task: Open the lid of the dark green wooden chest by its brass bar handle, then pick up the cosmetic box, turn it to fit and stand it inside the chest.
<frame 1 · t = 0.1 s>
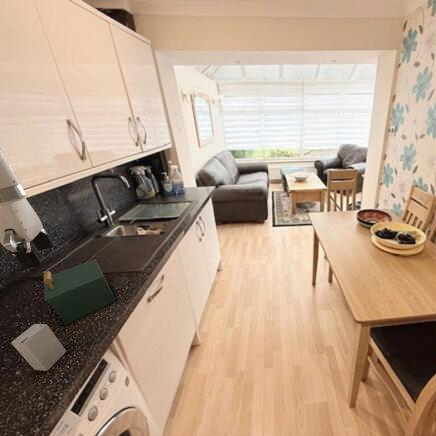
hand: (40, 257, 62), 31 cm above the countertop, tool pointing down, fingers open, 9 cm apart
lid: (70, 273, 85), point 14 cm above the countertop, hinge at 0.0°
cosmetic box: (51, 361, 69), on the countertop
chest: (88, 300, 91), on the countertop
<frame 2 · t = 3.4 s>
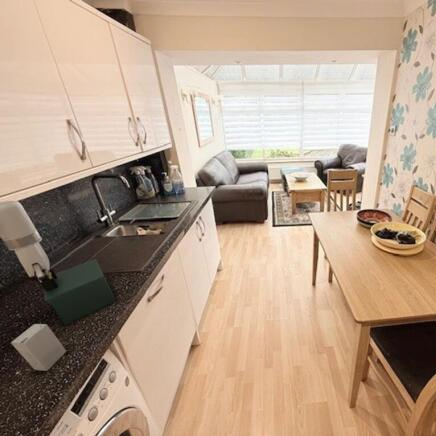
hand: (52, 284, 82), 12 cm above the countertop, tool pointing down, fingers closed on lid, 6 cm apart
lid: (70, 273, 85), point 14 cm above the countertop, hinge at 0.0°, touching gripper
everything else where it was.
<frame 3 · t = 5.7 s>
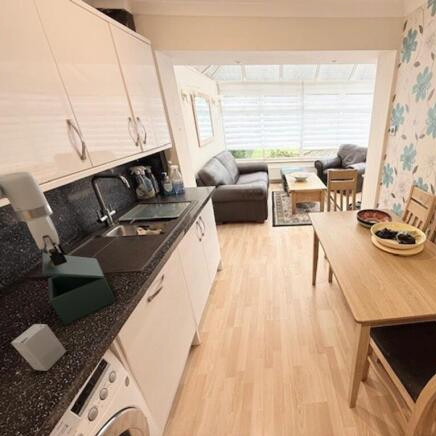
hand: (60, 259, 82), 20 cm above the countertop, tool pointing down, fingers closed on lid, 6 cm apart
lid: (75, 260, 85), point 18 cm above the countertop, hinge at 36.5°, touching gripper
everything else where it was.
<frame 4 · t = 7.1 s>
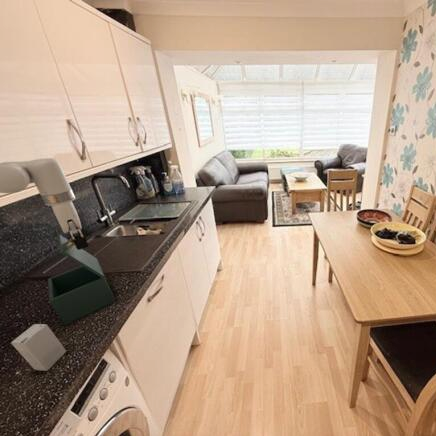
hand: (82, 244, 85), 23 cm above the countertop, tool pointing down, fingers closed on lid, 6 cm apart
lid: (86, 251, 87), point 19 cm above the countertop, hinge at 65.9°, touching gripper
everything else where it was.
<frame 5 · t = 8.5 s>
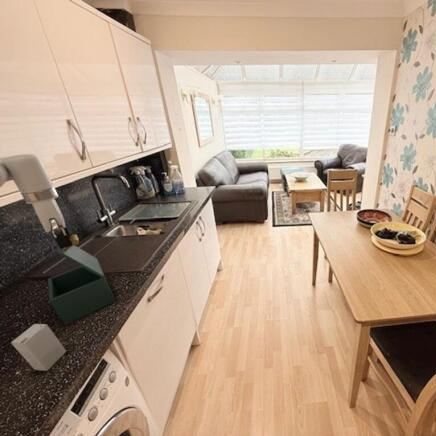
hand: (65, 242, 82), 25 cm above the countertop, tool pointing down
lid: (85, 252, 87), point 19 cm above the countertop, hinge at 63.8°, touching gripper
everything else where it was.
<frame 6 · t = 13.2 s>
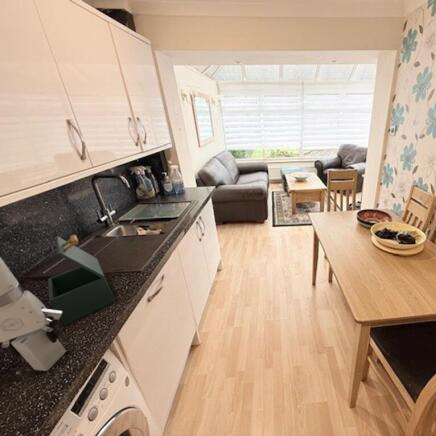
hand: (38, 344, 66), 7 cm above the countertop, tool pointing down, fingers closed on cosmetic box, 6 cm apart
lid: (85, 252, 86), point 19 cm above the countertop, hinge at 62.9°
cosmetic box: (51, 361, 69), on the countertop, touching gripper
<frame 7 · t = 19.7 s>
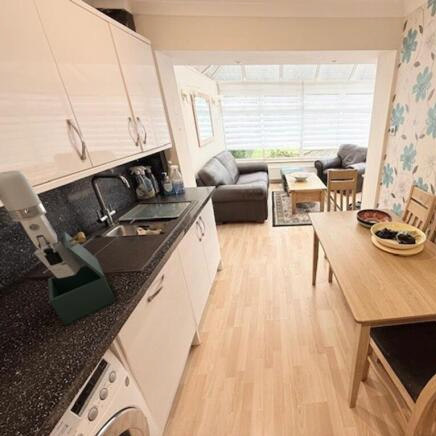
hand: (56, 259, 81), 21 cm above the countertop, tool pointing down, fingers closed on cosmetic box, 6 cm apart
lid: (89, 250, 87), point 19 cm above the countertop, hinge at 72.0°
cosmetic box: (71, 272, 85), point 14 cm above the countertop, touching gripper
when the fingers open (8 cm above the countertop, at t = 22.9 s): cosmetic box stays where it is, resting on chest.
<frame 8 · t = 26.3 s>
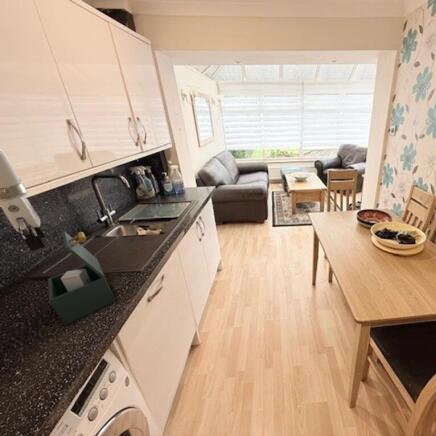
hand: (38, 243, 76), 28 cm above the countertop, tool pointing down, fingers open, 9 cm apart
cosmetic box: (87, 298, 91), point 1 cm above the countertop, touching chest
everything else where it was.
at the end: lid at +72° (first picture: +0°); cosmetic box inside the target area in the chest (0.6 cm from its centre), point 0.7 cm above the chest's base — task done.
